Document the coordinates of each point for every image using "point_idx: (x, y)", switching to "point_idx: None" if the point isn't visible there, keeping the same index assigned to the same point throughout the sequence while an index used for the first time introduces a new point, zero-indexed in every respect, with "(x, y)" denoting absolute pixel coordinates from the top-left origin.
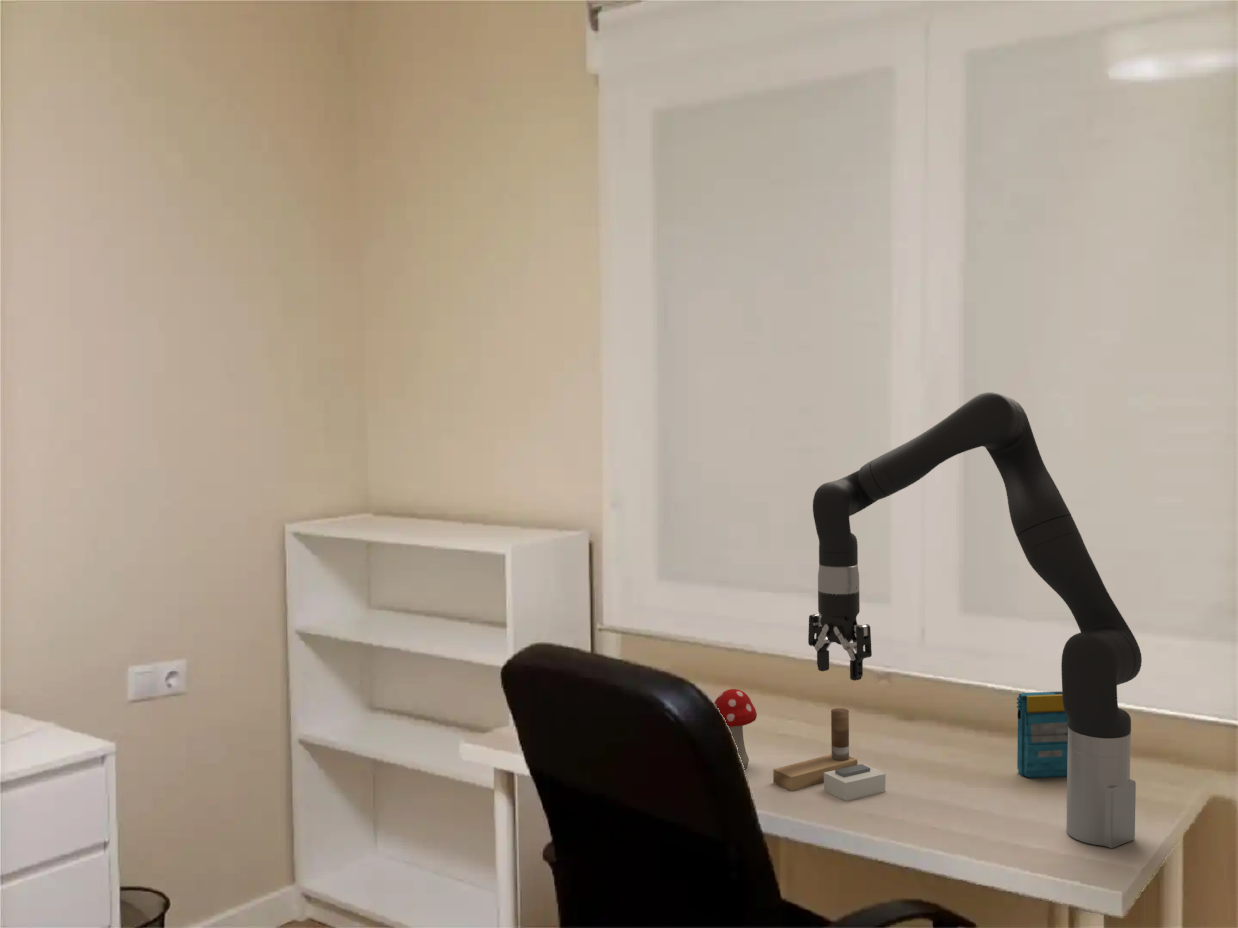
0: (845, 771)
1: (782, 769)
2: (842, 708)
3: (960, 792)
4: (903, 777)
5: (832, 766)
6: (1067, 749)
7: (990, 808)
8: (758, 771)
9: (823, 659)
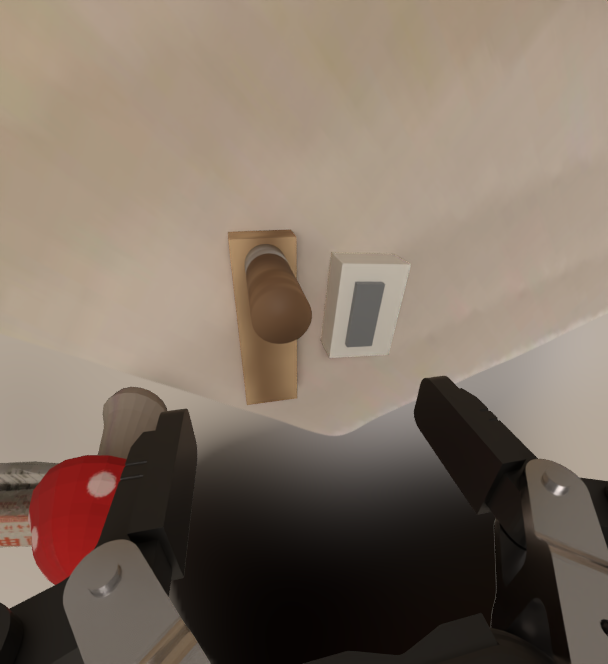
0: (364, 336)
1: (256, 393)
2: (266, 295)
3: (506, 121)
4: (373, 158)
5: None
6: None
7: (577, 145)
8: (181, 384)
9: (185, 499)
